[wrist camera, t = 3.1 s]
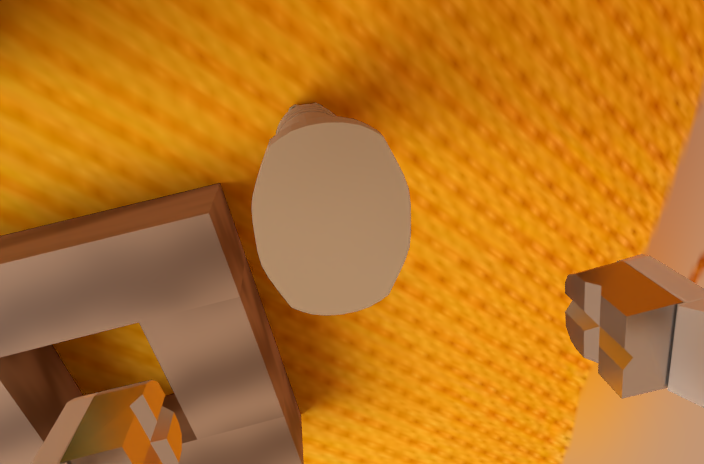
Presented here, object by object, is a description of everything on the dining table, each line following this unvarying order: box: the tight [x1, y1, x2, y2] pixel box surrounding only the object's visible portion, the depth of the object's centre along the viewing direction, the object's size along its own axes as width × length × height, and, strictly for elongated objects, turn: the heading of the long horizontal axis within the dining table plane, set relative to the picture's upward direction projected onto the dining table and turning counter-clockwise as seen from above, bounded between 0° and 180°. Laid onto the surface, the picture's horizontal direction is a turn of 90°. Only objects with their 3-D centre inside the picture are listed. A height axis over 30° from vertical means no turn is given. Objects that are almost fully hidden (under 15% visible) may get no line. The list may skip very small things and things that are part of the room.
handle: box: [252, 103, 411, 315], centre depth 21 cm, size 5×6×15 cm
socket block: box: [0, 183, 304, 464], centre depth 30 cm, size 20×20×5 cm
